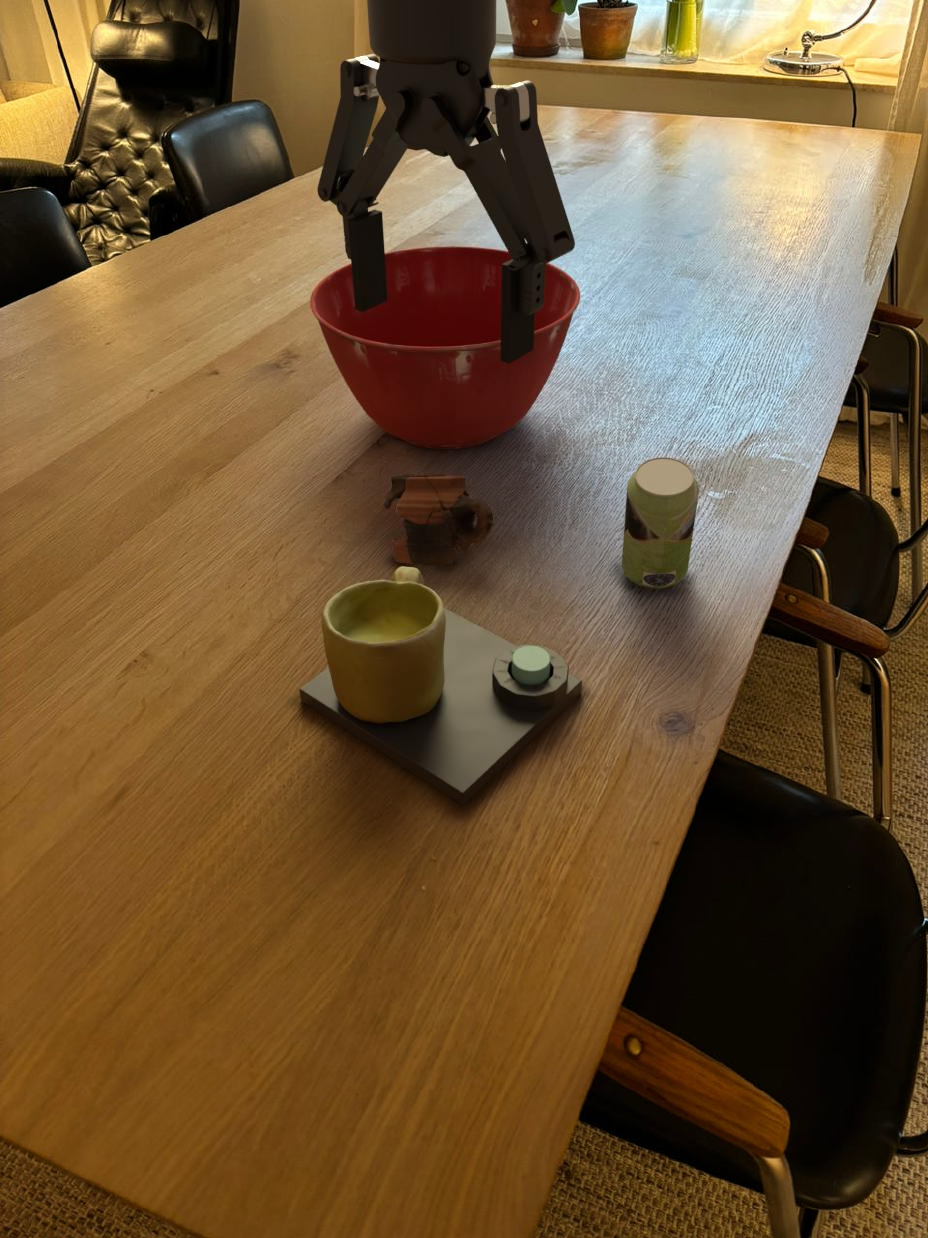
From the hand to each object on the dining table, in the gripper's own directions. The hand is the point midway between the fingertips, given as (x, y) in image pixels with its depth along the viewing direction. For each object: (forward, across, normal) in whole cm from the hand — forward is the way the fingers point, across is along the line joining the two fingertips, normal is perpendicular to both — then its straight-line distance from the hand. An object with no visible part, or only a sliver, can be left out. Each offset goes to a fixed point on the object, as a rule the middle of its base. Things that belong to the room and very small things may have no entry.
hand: (440, 329), depth 70 cm
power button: (+24, +12, -3) cm, 27 cm away
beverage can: (+27, +11, +16) cm, 33 cm away
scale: (+27, +6, -8) cm, 29 cm away
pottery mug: (+27, -8, +8) cm, 29 cm away
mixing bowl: (+27, -23, +27) cm, 45 cm away
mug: (+26, +2, -10) cm, 27 cm away
